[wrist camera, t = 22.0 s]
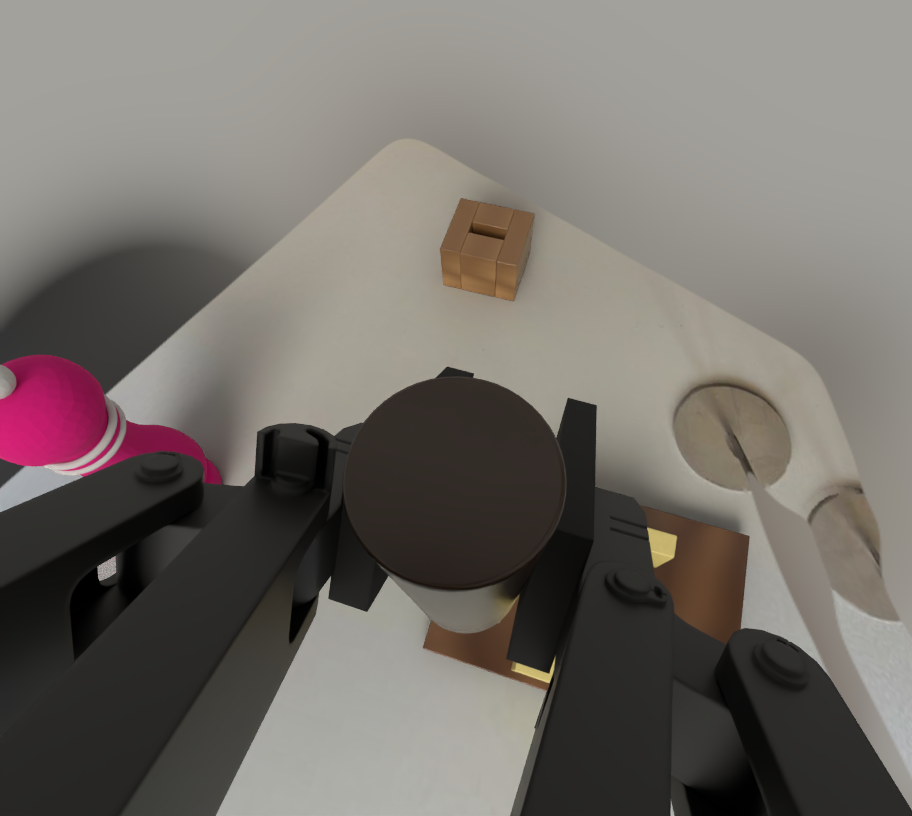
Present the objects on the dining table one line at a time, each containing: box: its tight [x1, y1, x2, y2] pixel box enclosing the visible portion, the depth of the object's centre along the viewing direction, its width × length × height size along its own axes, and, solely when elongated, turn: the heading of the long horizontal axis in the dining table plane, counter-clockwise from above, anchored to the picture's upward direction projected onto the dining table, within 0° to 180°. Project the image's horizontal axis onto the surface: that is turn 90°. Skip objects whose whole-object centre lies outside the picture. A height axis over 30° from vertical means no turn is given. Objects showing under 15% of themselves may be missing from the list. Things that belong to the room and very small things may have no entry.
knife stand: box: [440, 198, 535, 301], centre depth 50 cm, size 7×6×5 cm
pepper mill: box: [0, 355, 222, 485], centre depth 35 cm, size 7×7×20 cm
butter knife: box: [342, 377, 567, 633], centre depth 14 cm, size 3×3×16 cm
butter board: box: [423, 505, 749, 691], centre depth 39 cm, size 20×14×2 cm
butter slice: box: [647, 527, 677, 568], centre depth 38 cm, size 8×2×4 cm, turn 73°
